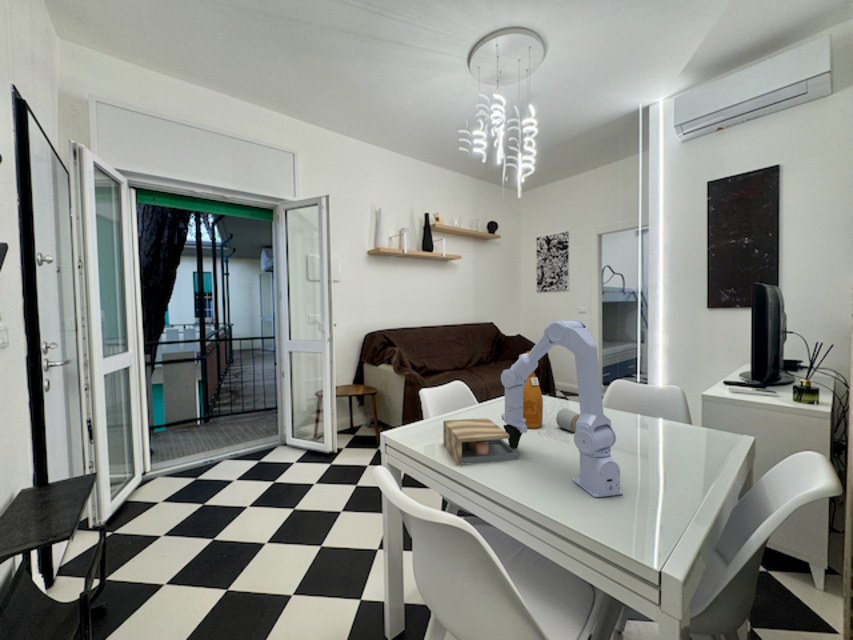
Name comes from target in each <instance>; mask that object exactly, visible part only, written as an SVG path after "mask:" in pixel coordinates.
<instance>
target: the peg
mask: <svg viewBox="0 0 853 640" xmlns="http://www.w3.org/2000/svg"><path fill="white" fill-rule="evenodd" d="M476 442H477V441H471V442H468V449H469V450H473V451H476Z"/></svg>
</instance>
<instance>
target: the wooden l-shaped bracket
mask: <svg viewBox="0 0 853 640" xmlns="http://www.w3.org/2000/svg"><path fill="white" fill-rule="evenodd" d="M442 428H443V431H442V432H443V433H442V434H443V436H442V437H443V446H444V445H445V446H444V447H445V449H446V448H447V449H446V450H447V452H448V451H449V452H450V453H449V452H448V453H449V454H451V455H452V456H451V455H450V456H451V457H452V459H453V458H454V459H455V460H454V459H453V460H454V462H455V461H456V462H457V463H458V465H463V464H462V442H471V441H484V440H497V439H502V440H506V439H507V440H508V439H509V434H508V433H507V432H506V431H505V429H504V428H503V429H502V427H500V426H499V425H497V424H496V423H495V422H493V421H492V420H491V419H489V417H479V418H467V419H466V418H465V419H464V418H463V419H449V420H443V427H442ZM456 462H455V463H456ZM457 463H456V464H457ZM458 465H457V466H458Z"/></svg>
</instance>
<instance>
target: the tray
mask: <svg viewBox="0 0 853 640" xmlns="http://www.w3.org/2000/svg"><path fill="white" fill-rule="evenodd" d="M484 441H487V442H489V455H477V456H476V451H473V450H469V449H468V442H462V463H474V464H477V463H476V462H483V463H492V462H491V461H495V462H506V461H518V460H519V459H520V455H519V453H518V451H516V449H513V448H512V447H510V446H509V443H507V442H506V441H505V439H497V440H484Z"/></svg>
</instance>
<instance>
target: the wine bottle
mask: <svg viewBox="0 0 853 640" xmlns="http://www.w3.org/2000/svg"><path fill="white" fill-rule="evenodd" d="M530 351H531V350H528V351H526V352H525V353H527V354H529V352H530ZM543 403H544V401H543V394H542V390H541V387H540V383H539V379H538V377H537V376H536V374H535V370H534V371H533V372H532V373H531V374H530V375H529V376H528V377H527V382H526V384H525V386H524V390H523V418H524V419H526V422H524V423H525V425H526V426H527V430H528V429H530V430H533V429H535V430H536V429H539V428H541V427H543V419H544V418H543V416H544V415H543V414H544V413H543V409H544V404H543Z"/></svg>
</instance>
